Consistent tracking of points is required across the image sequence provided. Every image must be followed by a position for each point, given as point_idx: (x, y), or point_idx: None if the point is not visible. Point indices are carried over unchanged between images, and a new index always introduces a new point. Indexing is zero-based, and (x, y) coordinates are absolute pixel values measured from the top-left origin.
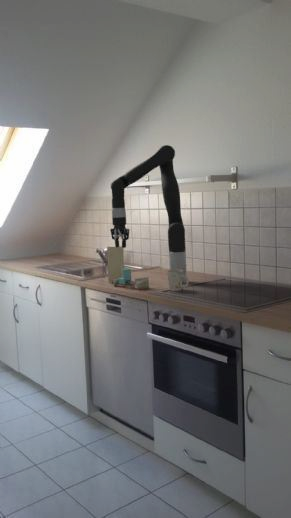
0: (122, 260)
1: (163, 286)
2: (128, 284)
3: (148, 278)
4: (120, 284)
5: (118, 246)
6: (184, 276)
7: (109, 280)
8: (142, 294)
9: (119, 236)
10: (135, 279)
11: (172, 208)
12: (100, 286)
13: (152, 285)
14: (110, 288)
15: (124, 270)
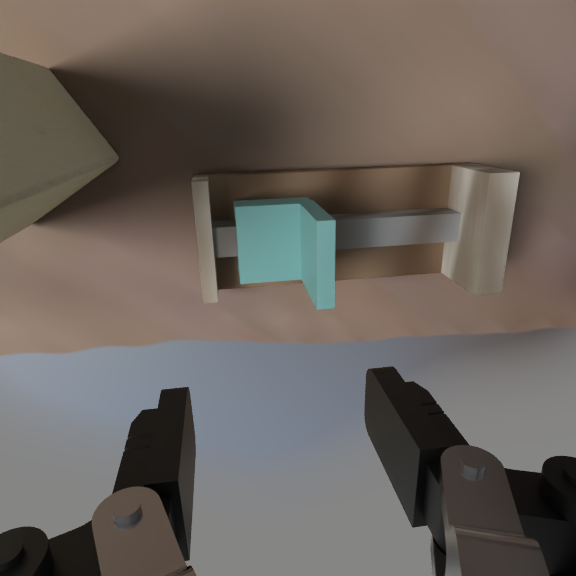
0: None
1: (532, 52)
2: None
3: (510, 171)
4: None
5: (188, 406)
6: None
7: (29, 225)
8: (562, 324)
9: (191, 574)
10: (478, 292)
11: None
12: (127, 345)
13: (430, 74)
14: (254, 341)
15: (333, 297)
